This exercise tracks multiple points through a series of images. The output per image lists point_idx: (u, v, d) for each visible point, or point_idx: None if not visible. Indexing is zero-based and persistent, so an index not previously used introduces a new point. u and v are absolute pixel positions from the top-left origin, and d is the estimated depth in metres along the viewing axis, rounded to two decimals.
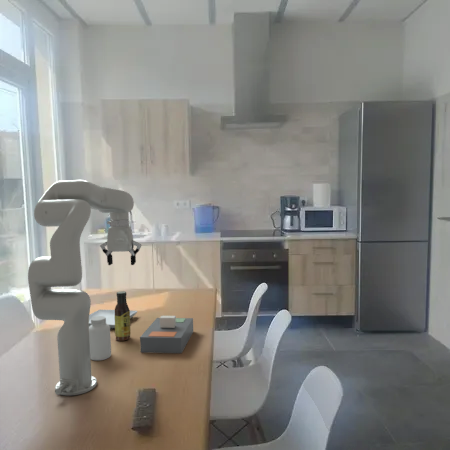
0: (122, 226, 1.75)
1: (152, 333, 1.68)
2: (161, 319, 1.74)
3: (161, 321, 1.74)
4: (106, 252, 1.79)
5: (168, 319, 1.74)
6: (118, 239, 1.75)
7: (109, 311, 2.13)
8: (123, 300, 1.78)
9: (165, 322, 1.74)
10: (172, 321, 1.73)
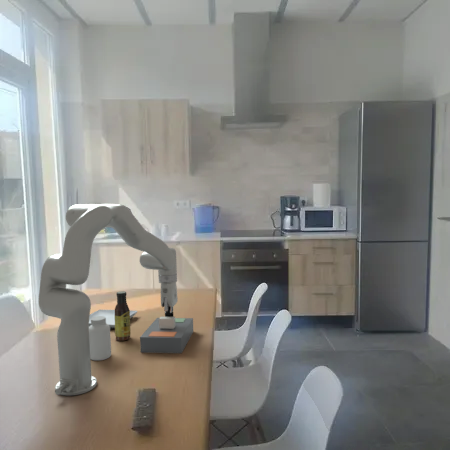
0: None
1: (152, 333, 1.68)
2: (160, 320, 1.73)
3: (160, 322, 1.73)
4: (169, 312, 1.75)
5: (167, 320, 1.72)
6: (175, 292, 1.76)
7: (109, 311, 2.13)
8: (123, 300, 1.78)
9: (164, 323, 1.73)
10: (171, 322, 1.72)
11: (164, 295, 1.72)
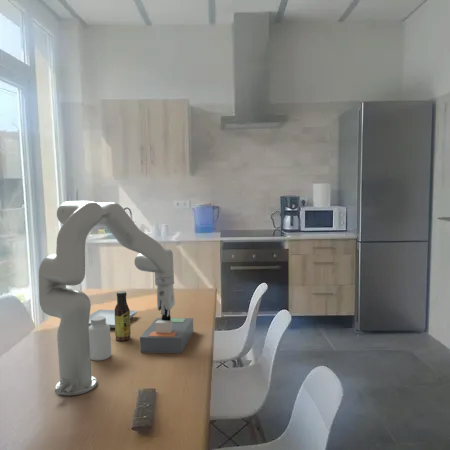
0: None
1: (152, 333, 1.68)
2: (157, 324, 1.68)
3: (157, 326, 1.68)
4: (166, 315, 1.70)
5: (164, 324, 1.67)
6: (172, 295, 1.71)
7: (109, 311, 2.13)
8: (123, 300, 1.78)
9: (161, 327, 1.68)
10: (168, 326, 1.67)
11: (160, 298, 1.67)
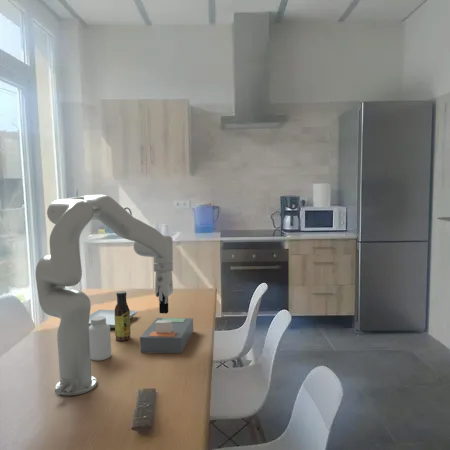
0: None
1: (152, 333, 1.68)
2: (157, 324, 1.68)
3: (157, 326, 1.68)
4: (164, 302, 1.68)
5: (164, 324, 1.68)
6: (170, 282, 1.70)
7: (109, 311, 2.13)
8: (123, 300, 1.78)
9: (161, 327, 1.68)
10: (168, 326, 1.67)
11: (159, 284, 1.65)
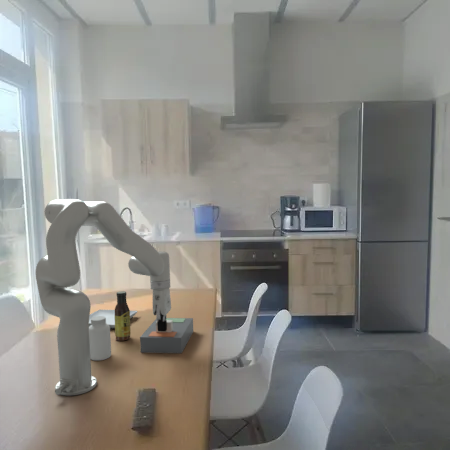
0: None
1: (152, 333, 1.68)
2: None
3: (157, 326, 1.68)
4: (162, 320, 1.64)
5: None
6: (168, 299, 1.65)
7: (109, 311, 2.13)
8: (123, 300, 1.78)
9: None
10: (169, 326, 1.68)
11: (156, 303, 1.60)
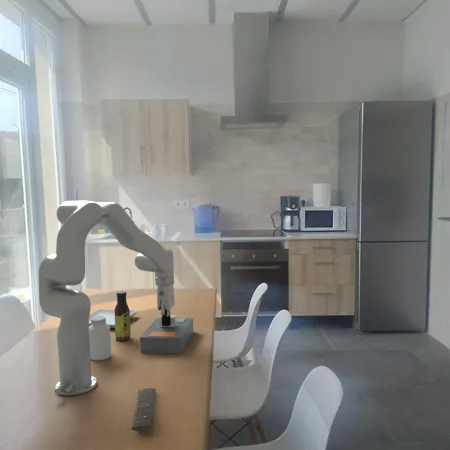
0: None
1: (152, 333, 1.68)
2: (161, 318, 1.75)
3: (161, 320, 1.75)
4: (166, 315, 1.70)
5: None
6: (172, 295, 1.71)
7: (109, 311, 2.13)
8: (123, 300, 1.78)
9: None
10: (172, 320, 1.74)
11: (160, 298, 1.66)
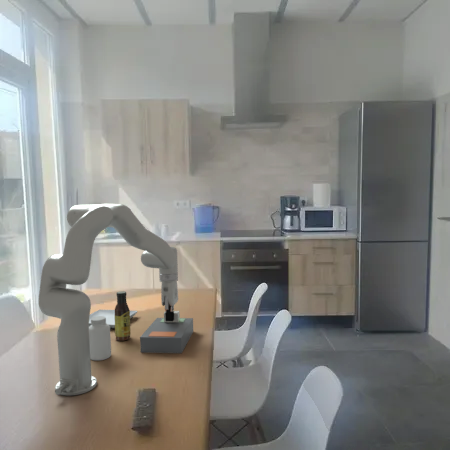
0: None
1: (152, 333, 1.68)
2: None
3: (165, 316, 1.81)
4: (170, 310, 1.76)
5: None
6: (175, 291, 1.77)
7: (109, 311, 2.13)
8: (123, 300, 1.78)
9: None
10: (176, 316, 1.80)
11: (164, 294, 1.72)
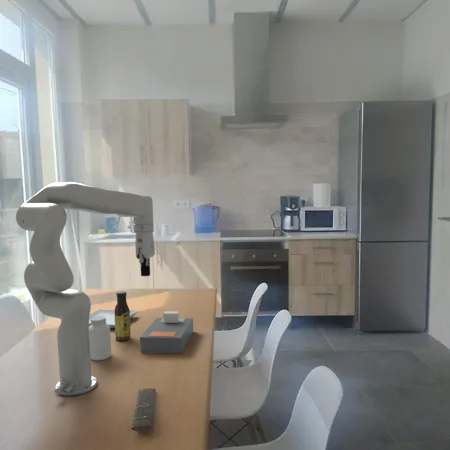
0: None
1: (152, 333, 1.68)
2: (165, 314, 1.80)
3: (165, 316, 1.80)
4: (145, 264, 1.64)
5: (172, 314, 1.80)
6: (151, 244, 1.65)
7: (109, 311, 2.13)
8: (123, 300, 1.78)
9: (169, 317, 1.80)
10: (175, 316, 1.79)
11: (139, 246, 1.60)
